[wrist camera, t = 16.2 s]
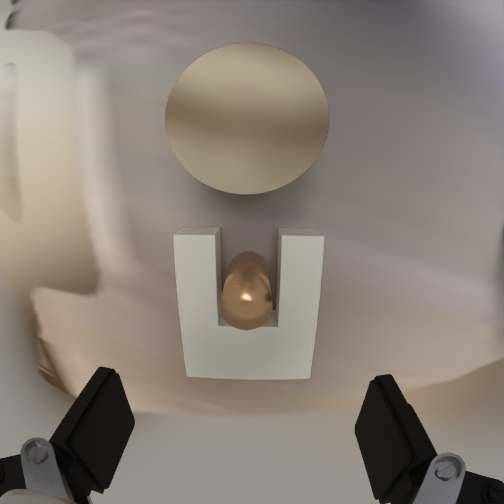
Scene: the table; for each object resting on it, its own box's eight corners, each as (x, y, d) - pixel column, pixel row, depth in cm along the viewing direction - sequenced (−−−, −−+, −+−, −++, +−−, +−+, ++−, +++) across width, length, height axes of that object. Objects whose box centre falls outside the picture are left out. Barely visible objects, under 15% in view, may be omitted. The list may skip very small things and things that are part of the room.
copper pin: (229, 251, 27) (218, 281, 19) (268, 252, 27) (273, 282, 19) (229, 288, 28) (220, 329, 20) (267, 288, 28) (271, 330, 20)
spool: (200, 92, 23) (170, 48, 13) (300, 93, 23) (325, 47, 13) (199, 188, 25) (164, 195, 15) (300, 189, 25) (328, 196, 15)
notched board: (183, 227, 26) (173, 234, 23) (315, 228, 26) (324, 236, 23) (193, 356, 30) (186, 376, 26) (304, 358, 30) (309, 378, 26)
